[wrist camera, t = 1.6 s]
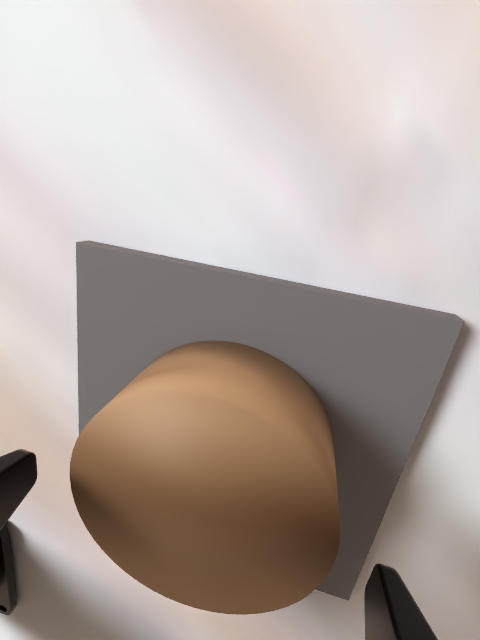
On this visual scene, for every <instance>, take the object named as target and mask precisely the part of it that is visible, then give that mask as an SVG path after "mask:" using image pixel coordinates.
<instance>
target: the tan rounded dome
mask: <svg viewBox="0 0 480 640" xmlns="http://www.w3.org/2000/svg"><path fill="white" fill-rule="evenodd" d="M70 481H71V490H72V494H73V498H74V502H75V504H76V507H77V510H78V512H79V515H80V517H81V519H82V521H83V522H84V524H85V526H86V528H87V530H88V531H89V533H90V534H91V536H92V537H93V539H94V540H95V541H96V543H97V544H98V545H99V546H100V547H101V549H102V550H103V551H104V552H105V553H106V554H107V555H108V556H109V557H110V558H111V559H112V560H113V561H114V562H115V563H116V564H117V565H118V566H119V567H120V568H121V569H123V570H124V571H125V572H126V573H127V574H129V575H130V576H132V577H133V578H134V579H136V580H137V581H138V582H140V583H142V584H143V585H145V586H146V587H148V588H150V589H151V590H153V591H155V592H157V593H159V594H161V595H163V596H165V597H167V598H169V599H172V600H174V601H177V602H179V603H182V604H185V605H188V606H191V607H194V608H198V609H202V610H207V611H211V612H218V613H225V614H258V613H264V612H269V611H274V610H278V609H281V608H284V607H287V606H289V605H291V604H294V603H296V602H298V601H300V600H301V599H303V598H304V597H306V596H307V595H309V594H310V593H312V592H313V591H314V590H315V589H316V588H317V587H318V586H319V585H320V584H321V583H322V582H323V581H324V579H325V578H326V577H327V575H328V574H329V572H330V570H331V568H332V566H333V564H334V562H335V560H336V556H337V552H338V549H339V542H340V521H339V508H338V494H337V481H336V467H335V454H334V442H333V433H332V428H331V424H330V420H329V417H328V415H327V413H326V410H325V408H324V406H323V404H322V402H321V401H320V399H319V397H318V396H317V394H316V393H315V391H314V390H313V389H312V388H311V387H310V385H309V384H308V383H307V382H306V381H305V380H304V379H303V378H302V377H301V376H300V375H299V374H298V373H297V372H296V371H295V370H293V369H292V368H291V367H289V366H288V365H287V364H285V363H284V362H283V361H281V360H279V359H277V358H276V357H274V356H272V355H270V354H268V353H266V352H264V351H261V350H259V349H257V348H254V347H250V346H247V345H244V344H240V343H234V342H228V341H200V342H193V343H189V344H185V345H182V346H179V347H176V348H174V349H171V350H169V351H168V352H166V353H164V354H162V355H161V356H159V357H158V358H157V359H155V360H154V361H153V362H152V363H151V364H149V365H148V366H147V367H146V368H145V369H144V370H143V371H142V372H141V373H140V374H139V375H138V376H137V377H136V378H135V379H133V380H132V381H131V382H130V383H129V384H128V385H127V386H126V387H125V388H124V389H123V390H122V391H121V392H120V393H119V394H117V395H116V396H115V397H114V398H113V399H112V400H111V401H110V402H109V403H108V404H107V405H106V406H105V407H104V408H103V409H101V410H100V411H99V412H98V413H97V414H96V415H95V416H94V417H93V418H92V419H91V420H90V421H89V423H88V424H87V425H86V426H85V427H84V429H83V430H82V432H81V434H80V435H79V437H78V439H77V441H76V444H75V446H74V449H73V452H72V457H71V462H70Z"/></svg>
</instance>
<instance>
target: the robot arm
mask: <svg viewBox="0 0 480 640" xmlns="http://www.w3.org/2000/svg"><path fill="white" fill-rule="evenodd" d="M36 479H37V463H36V455H35V454H34V453H33V452H30V451H26V450H23V449H20V450H16V451H13V452H11V453H8V454H6V455H3V456H1V457H0V613H2V614H5V615H10V614H11V613H12V611H13V610H14V609H15V607H16V606H17V597H16V589H15V580H14V572H13V564H12V555H11V547H10V539H9V531H8V528H7V527H6V525H5V523H6V522H7V521H8V519H9V518H10V517H11V515H12V514H13V513H14V511H15V510H16V508H17V507H18V506H19V504H20V503H21V502H22V500H23V499H24V498H25V496H26V495H27V494H28V492H29V491H30V490H31V488H32V487H33V485H34V484H35V482H36ZM365 640H438V639H437V638H436V636H435V634H434V632H433V631H432V629H431V627H430V626H429V624H428V622H427V621H426V619H425V617H424V616H423V614H422V612H421V611H420V609H419V607H418V606H417V604H416V602H415V601H414V599H413V597H412V596H411V594H410V592H409V591H408V589H407V587H406V586H405V584H404V582H403V581H402V579H401V577H400V576H399V574H398V572H397V571H396V570H395V569H393V568H391V567H388V566H385V565H382V564H376V565H375V566H374V568H373V571H372V573H371V575H370V578H369V580H368V582H367V584H366V588H365Z"/></svg>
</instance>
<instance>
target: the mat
mask: <svg viewBox="0 0 480 640" xmlns="http://www.w3.org/2000/svg"><path fill="white" fill-rule="evenodd" d="M76 265H77V331H78V397H79V435H80V434H81V432H82V430H83V429H84V427H85V426H86V425H87V424H88V423H89V421H90V420H91V419H92V418H93V417H94V416H95V415H96V414H97V413H98V412H99V411H100V410H101V409H103V408H104V407H105V406H106V405H107V404H108V403H109V402H110V401H111V400H112V399H113V398H114V397H115V396H116V395H117V394H119V393H120V392H121V391H122V390H123V389H124V388H125V387H126V386H127V385H128V384H129V383H130V382H131V381H132V380H133V379H135V378H136V377H137V376H138V375H139V374H140V373H141V372H142V371H143V370H144V369H145V368H146V367H147V366H148V365H149V364H151V363H152V362H153V361H154V360H155V359H157V358H158V357H159V356H161V355H162V354H164V353H166V352H168V351H169V350H171V349H174V348H176V347H179V346H182V345H185V344H189V343H193V342H200V341H228V342H234V343H240V344H244V345H247V346H250V347H254V348H257V349H259V350H261V351H264V352H266V353H268V354H270V355H272V356H274V357H276V358H277V359H279V360H281V361H283V362H284V363H285V364H287V365H288V366H289V367H291V368H292V369H293V370H295V371H296V372H297V373H298V374H299V375H300V376H301V377H302V378H303V379H304V380H305V381H306V382H307V383H308V384H309V385H310V387H311V388H312V389H313V390H314V391H315V393H316V394H317V396H318V397H319V399H320V401H321V402H322V404H323V406H324V408H325V410H326V413H327V415H328V417H329V420H330V424H331V428H332V433H333V442H334V454H335V467H336V481H337V494H338V508H339V521H340V542H339V549H338V552H337V556H336V560H335V562H334V564H333V566H332V568H331V570H330V572H329V574H328V575H327V577H326V578H325V579H324V581H323V582H322V583H321V584H320V585H319V586H318V587H317V588H316V590H319V591H322V592H325V593H328V594H331V595H334V596H337V597H340V598H343V599H346V600H349V598H350V595H351V593H352V590H353V588H354V586H355V583H356V581H357V578H358V576H359V574H360V571H361V569H362V566H363V564H364V562H365V559H366V557H367V554H368V552H369V550H370V547H371V545H372V542H373V540H374V538H375V535H376V533H377V530H378V528H379V525H380V523H381V521H382V518H383V516H384V513H385V511H386V509H387V506H388V504H389V501H390V499H391V497H392V494H393V492H394V489H395V487H396V485H397V482H398V480H399V477H400V475H401V473H402V470H403V468H404V465H405V463H406V461H407V458H408V456H409V453H410V451H411V449H412V446H413V444H414V441H415V439H416V436H417V434H418V432H419V429H420V427H421V424H422V422H423V420H424V417H425V415H426V412H427V410H428V408H429V405H430V403H431V400H432V398H433V396H434V393H435V391H436V388H437V386H438V384H439V381H440V379H441V376H442V374H443V372H444V369H445V367H446V364H447V362H448V360H449V357H450V355H451V352H452V350H453V348H454V345H455V343H456V340H457V338H458V335H459V333H460V331H461V328H462V326H463V323H464V321H463V320H462V319H460V318H459V317H458V316H456V315H455V314H450V313H445V312H440V311H435V310H430V309H425V308H420V307H415V306H410V305H405V304H400V303H396V302H391V301H386V300H381V299H376V298H371V297H366V296H361V295H356V294H351V293H346V292H341V291H336V290H331V289H326V288H321V287H316V286H311V285H306V284H301V283H296V282H291V281H286V280H281V279H276V278H272V277H267V276H262V275H257V274H252V273H247V272H242V271H237V270H232V269H227V268H222V267H217V266H212V265H207V264H202V263H197V262H192V261H187V260H182V259H177V258H172V257H167V256H162V255H157V254H152V253H148V252H143V251H138V250H133V249H128V248H123V247H118V246H113V245H108V244H103V243H98V242H93V241H83V242H76Z"/></svg>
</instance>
